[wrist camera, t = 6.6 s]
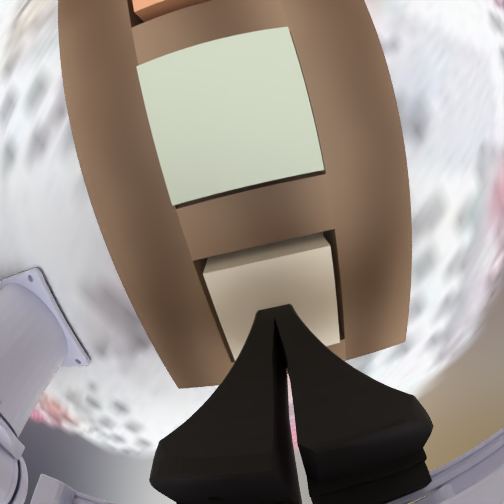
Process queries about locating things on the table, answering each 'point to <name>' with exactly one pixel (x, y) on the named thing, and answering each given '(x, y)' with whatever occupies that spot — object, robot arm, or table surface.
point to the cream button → (275, 286)
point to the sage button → (230, 114)
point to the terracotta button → (161, 7)
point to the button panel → (250, 197)
